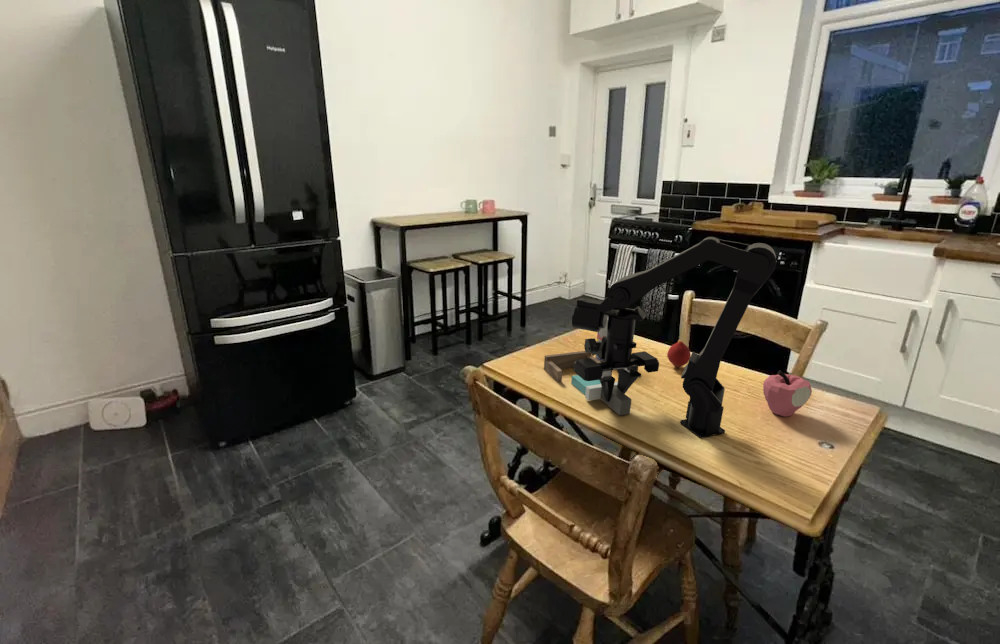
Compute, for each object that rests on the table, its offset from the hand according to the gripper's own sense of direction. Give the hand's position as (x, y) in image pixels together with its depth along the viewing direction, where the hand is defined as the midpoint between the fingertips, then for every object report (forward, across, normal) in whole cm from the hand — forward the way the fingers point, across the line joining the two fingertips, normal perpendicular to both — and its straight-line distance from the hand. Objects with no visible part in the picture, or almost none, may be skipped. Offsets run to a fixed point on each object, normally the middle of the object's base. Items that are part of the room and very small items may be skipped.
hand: (612, 400), depth 108 cm
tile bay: (+2, 0, -18) cm, 19 cm away
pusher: (+1, 0, 0) cm, 1 cm away
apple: (+2, -35, +14) cm, 38 cm away
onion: (+2, -29, -14) cm, 32 cm away
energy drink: (+2, -13, -25) cm, 28 cm away
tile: (+2, 0, -10) cm, 10 cm away
